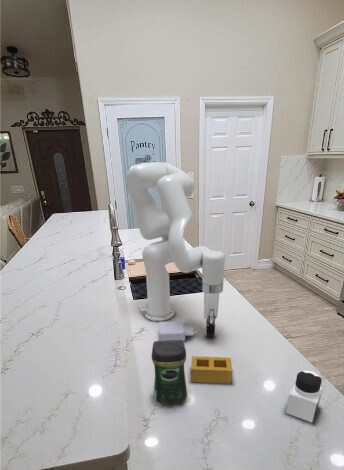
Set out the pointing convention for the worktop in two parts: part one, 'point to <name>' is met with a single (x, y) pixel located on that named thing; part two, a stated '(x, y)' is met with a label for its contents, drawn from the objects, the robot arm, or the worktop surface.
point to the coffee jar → (169, 371)
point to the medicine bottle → (305, 396)
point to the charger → (174, 331)
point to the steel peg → (209, 334)
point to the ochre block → (211, 369)
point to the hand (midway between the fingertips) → (210, 330)
